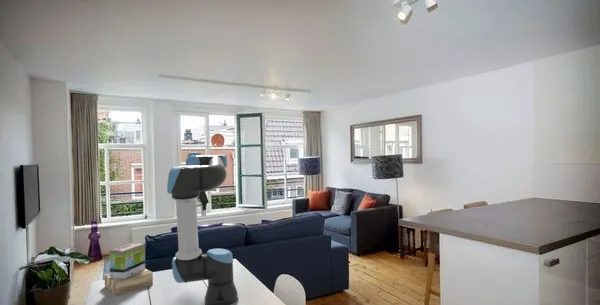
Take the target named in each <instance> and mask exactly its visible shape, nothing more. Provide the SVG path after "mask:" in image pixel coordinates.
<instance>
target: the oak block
mask: <svg viewBox="0 0 600 305" xmlns="http://www.w3.org/2000/svg"><path fill="white" fill-rule="evenodd" d="M103 275H104V277H103V278H104V288H105V287H106V288H105V289H106V290H108V291H109V290H110V291H109V292H111V293H112V294H113V295H114V296H116V297H117V296H120V295H123V294H127V293H130V292H133V291H136V290H139V289H142V288H145V287H148V286H152V285H154V276H153V271H151V270H149V269H147V268H145V270H143V271H141V272H138V273H136V274H134V275H132V276H130V277H128V278H126V279H114V278H110V272H109V273H105V274H103Z"/></svg>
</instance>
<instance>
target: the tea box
mask: <svg viewBox="0 0 600 305" xmlns="http://www.w3.org/2000/svg"><path fill="white" fill-rule="evenodd" d="M145 269H146V244H145V243H138V242H136V243H135V242H131V243H127V244H123V245H121V246H119V247H116V248H115V247H114V248H113V249H110V250H109V273H110V278H114V279H126V278H128V277H130V276H132V275H134V274H136V273H138V272H141V271H143V270H145Z"/></svg>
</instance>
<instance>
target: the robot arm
mask: <svg viewBox="0 0 600 305" xmlns="http://www.w3.org/2000/svg"><path fill="white" fill-rule="evenodd" d="M227 166H228V159H227V155H226V154H204V155H203V154H201V152H196V151H195V152H188V153H187V158H186V159H185V165H180V166H173V167H171V168H170V170H169V172H168V176H167V183H166V184H167V185H166V186H167V187H166V189H167V190H166V192H167V194H169V195H171V199H172V200H174V201H175V206H176V207H175V209H176V210H175V211H176V227H177V241H178V242H177V245H178V247H177V248H178V251H176V252H175V256H174V257H173V258H172V260H171V267H172V269H171V270H172V275H173V279H174V281H175V282H176V283H177V284H178V283H179V284H182V283H185V284H186V283H191V282H199V281H200V282H201V281H206V280H207V284H208V285H207V289H206V292H205V296H204V304H205V305H229V304H230V305H232V304H234V303H236V301H237V300H238V299H239V293H238V290H237V288H236V284H235V281H234V264H233V263H234V259H233V253H232V251H230V250H229V249H225V248H211V249H208V250H207V251H206V253H203V250H202V248H200V247H199V231H198V207H197V199H199V202H201V204H200V210H201V213H200V214H201V215H200V216H201V217H205V216H207V204H209V203H210V202H209V199H208V196H207V193H206V192H210V191H213V190H215V189H217V188H220V186H221V185H223V184H224V183H225V181H226V178H227V170H226V168H227Z"/></svg>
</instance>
